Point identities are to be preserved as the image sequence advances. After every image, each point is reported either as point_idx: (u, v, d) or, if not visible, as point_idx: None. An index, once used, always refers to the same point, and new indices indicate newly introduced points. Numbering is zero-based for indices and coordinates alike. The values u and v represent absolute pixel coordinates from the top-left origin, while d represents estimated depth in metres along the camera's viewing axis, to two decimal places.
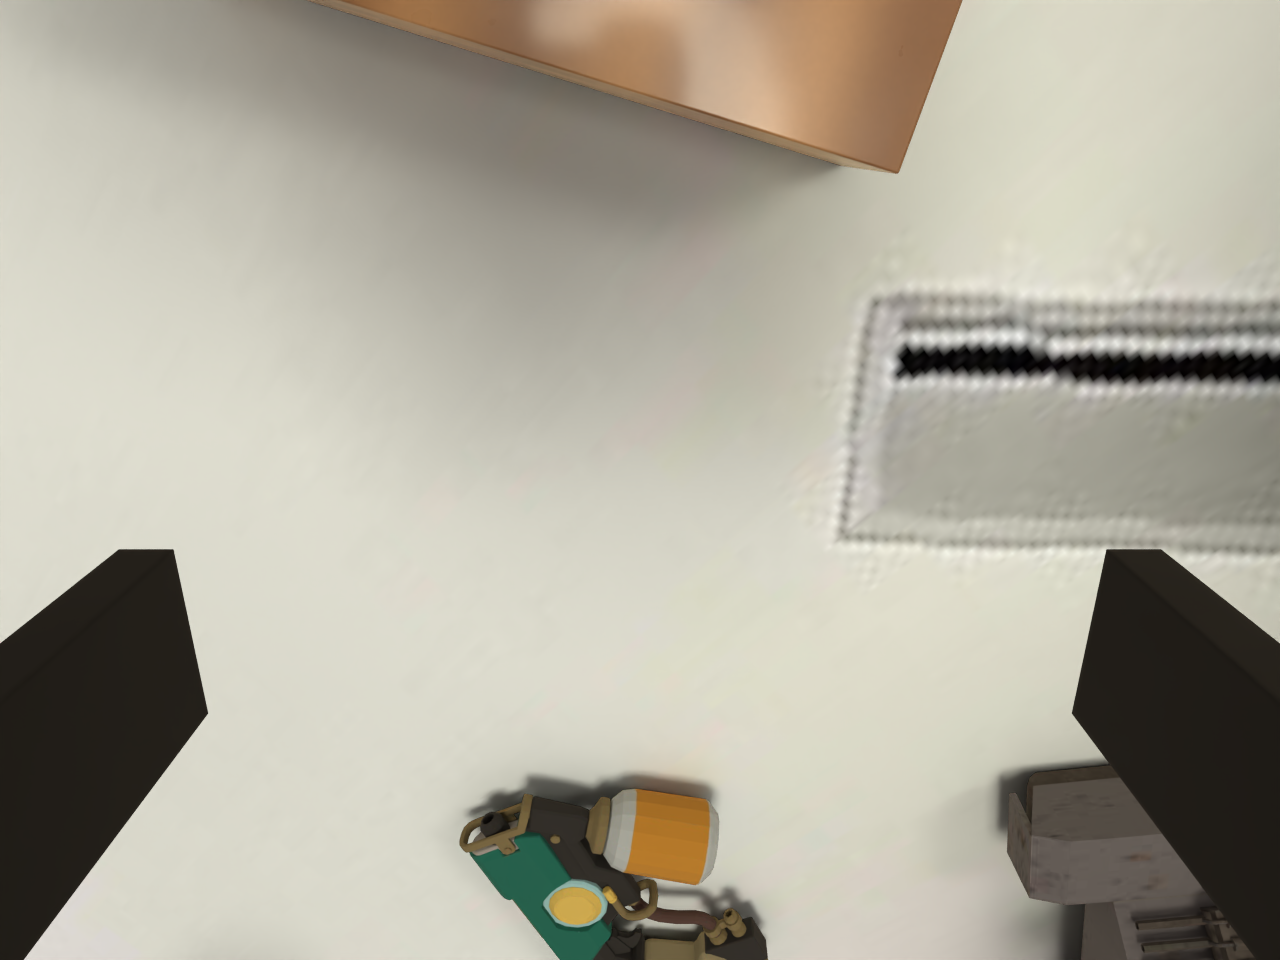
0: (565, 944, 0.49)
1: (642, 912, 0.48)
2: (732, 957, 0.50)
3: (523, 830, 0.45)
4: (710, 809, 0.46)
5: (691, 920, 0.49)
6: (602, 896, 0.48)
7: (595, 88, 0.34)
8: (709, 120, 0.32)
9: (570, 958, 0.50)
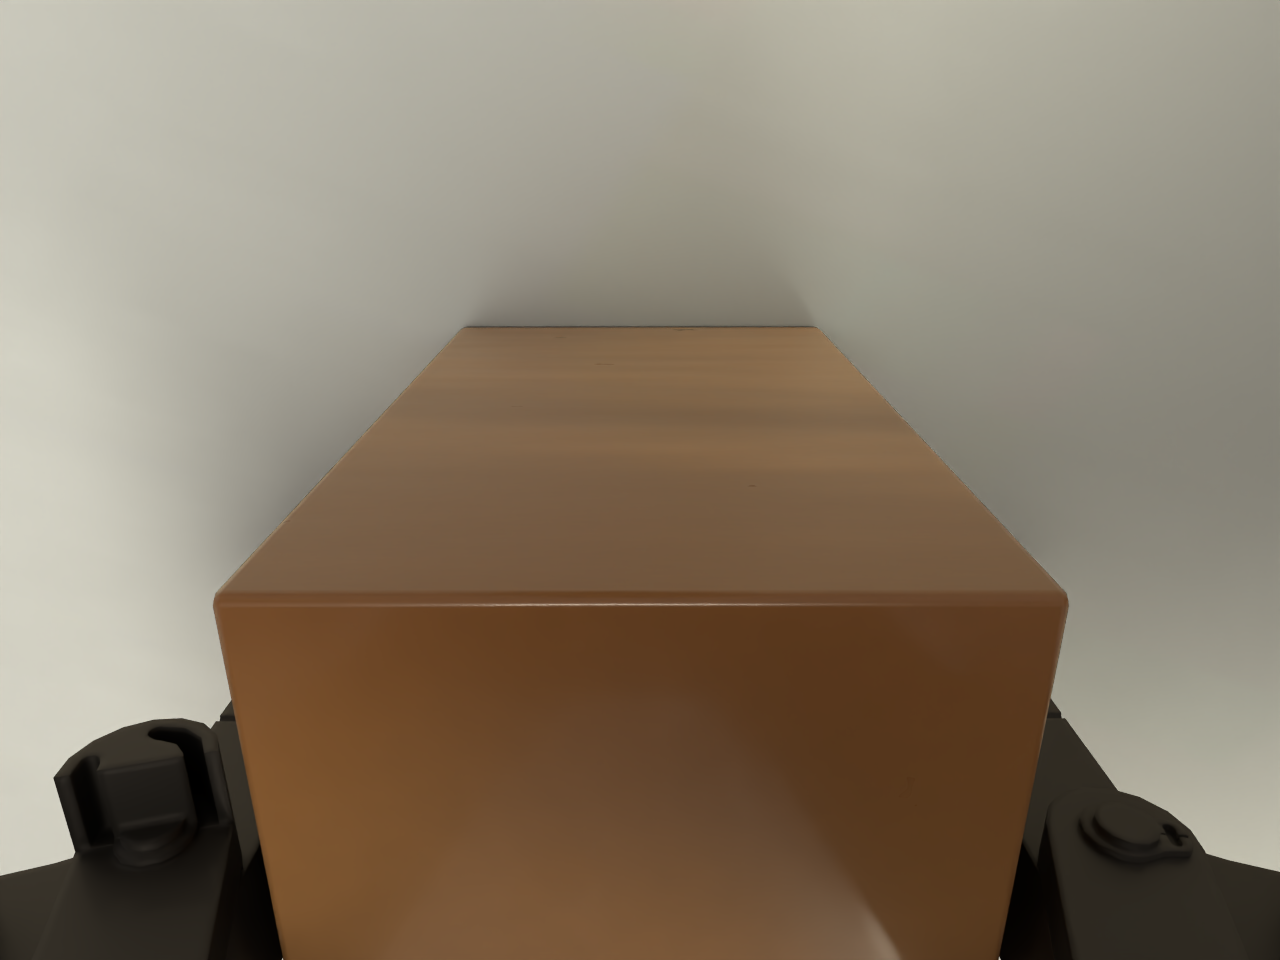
0: None
1: None
2: None
3: None
4: None
5: None
6: None
7: None
8: None
9: None
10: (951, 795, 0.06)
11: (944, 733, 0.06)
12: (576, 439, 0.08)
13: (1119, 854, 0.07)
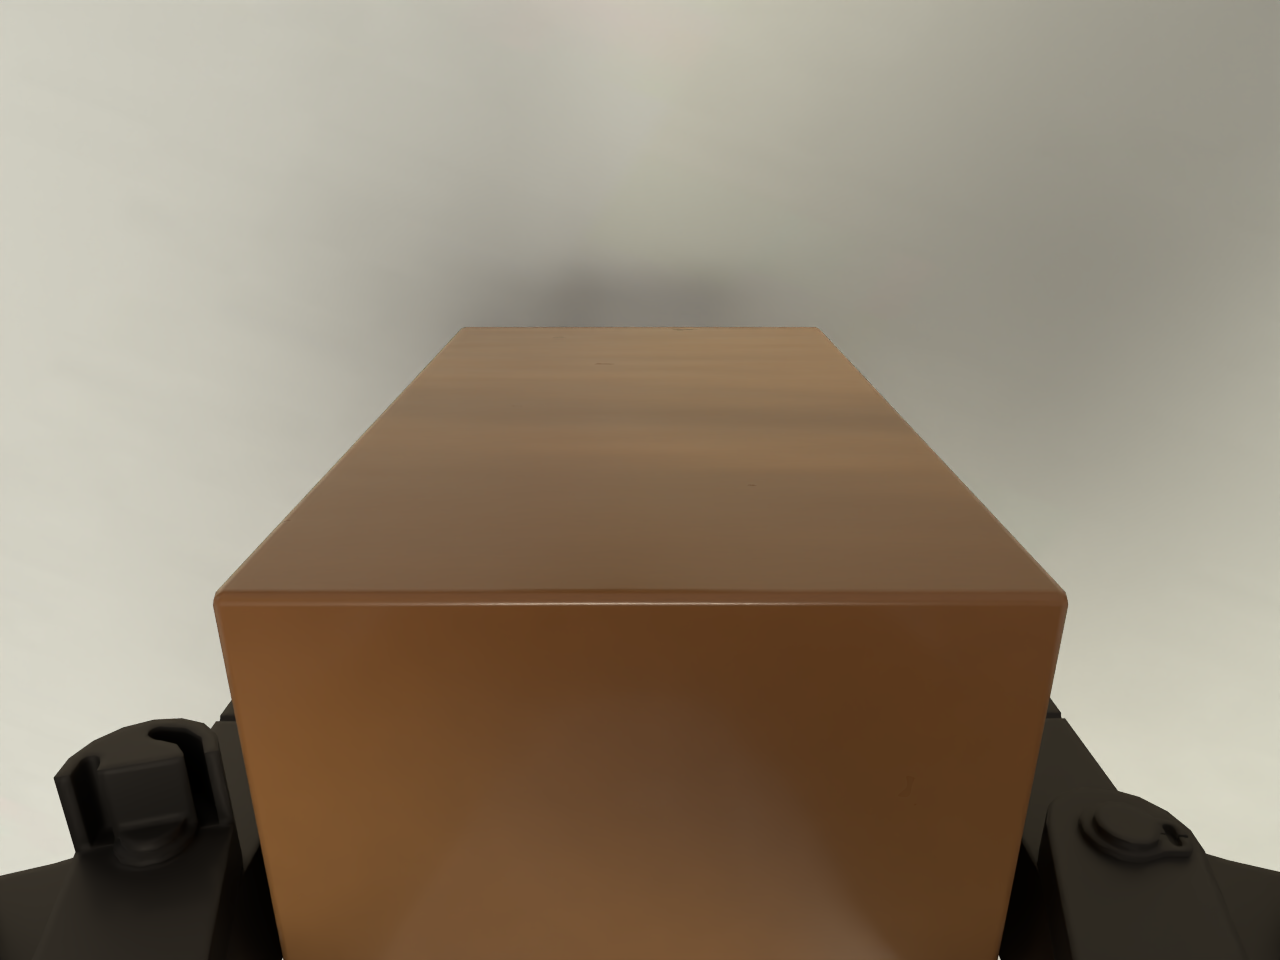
0: None
1: None
2: None
3: None
4: None
5: None
6: None
7: None
8: None
9: None
10: (950, 794, 0.06)
11: (944, 733, 0.06)
12: (575, 438, 0.08)
13: (1118, 855, 0.07)
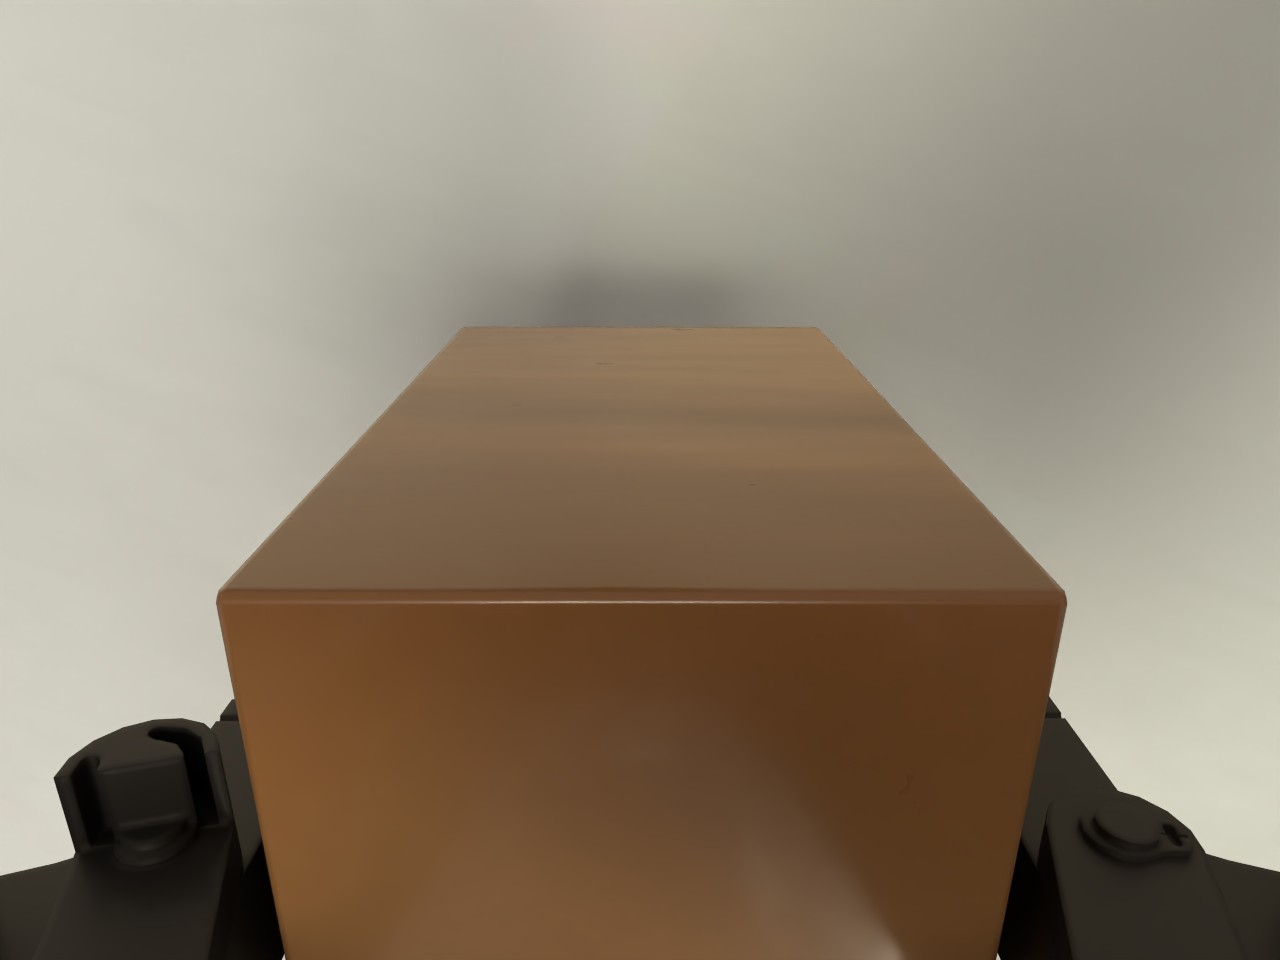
0: None
1: None
2: None
3: None
4: None
5: None
6: None
7: None
8: None
9: None
10: (950, 792, 0.06)
11: (944, 731, 0.06)
12: (576, 437, 0.09)
13: (1119, 855, 0.07)
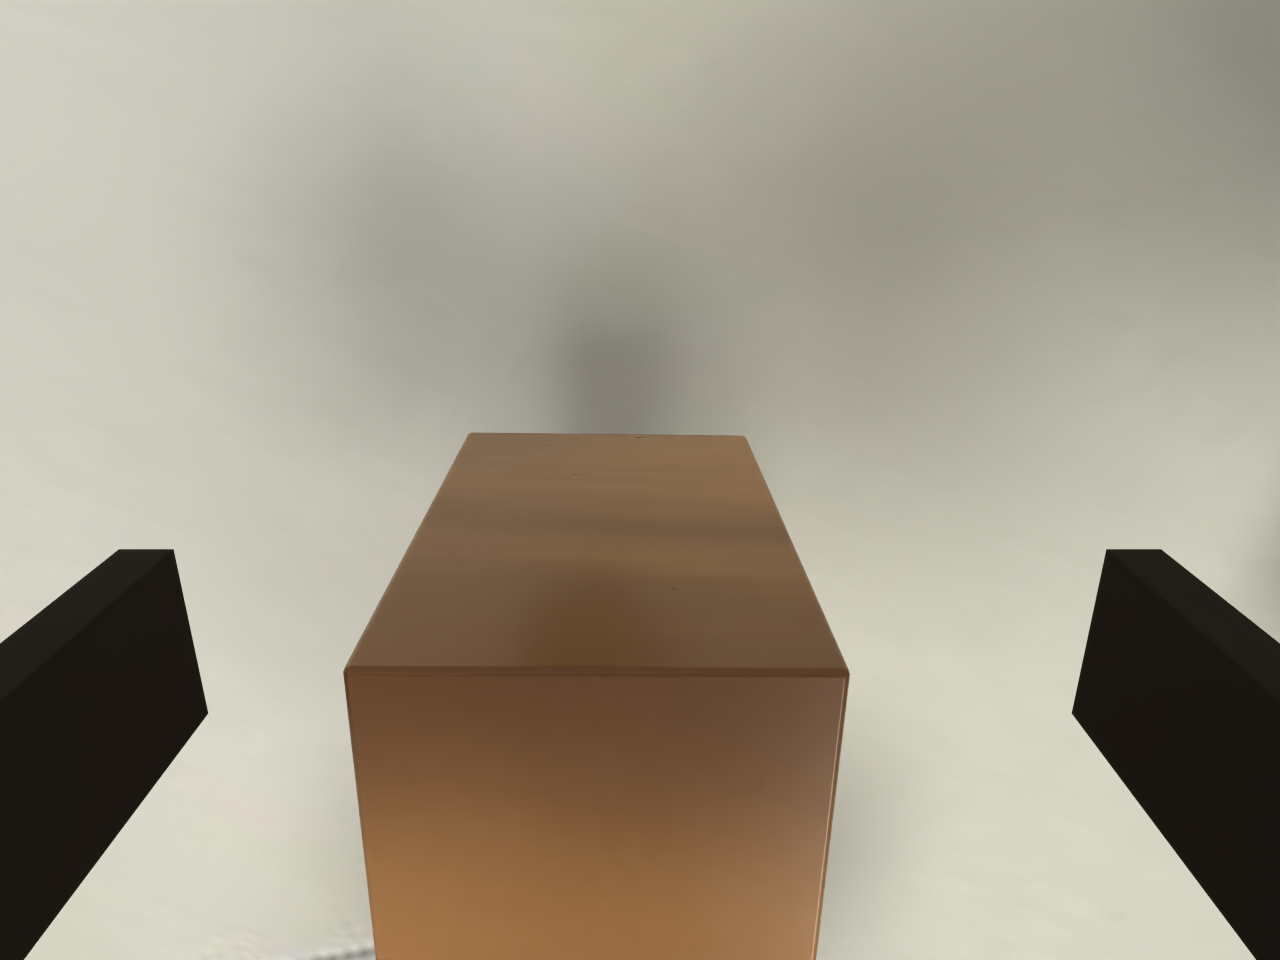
0: None
1: None
2: None
3: None
4: None
5: None
6: None
7: None
8: None
9: None
10: (787, 789, 0.10)
11: (780, 751, 0.10)
12: (558, 547, 0.12)
13: None
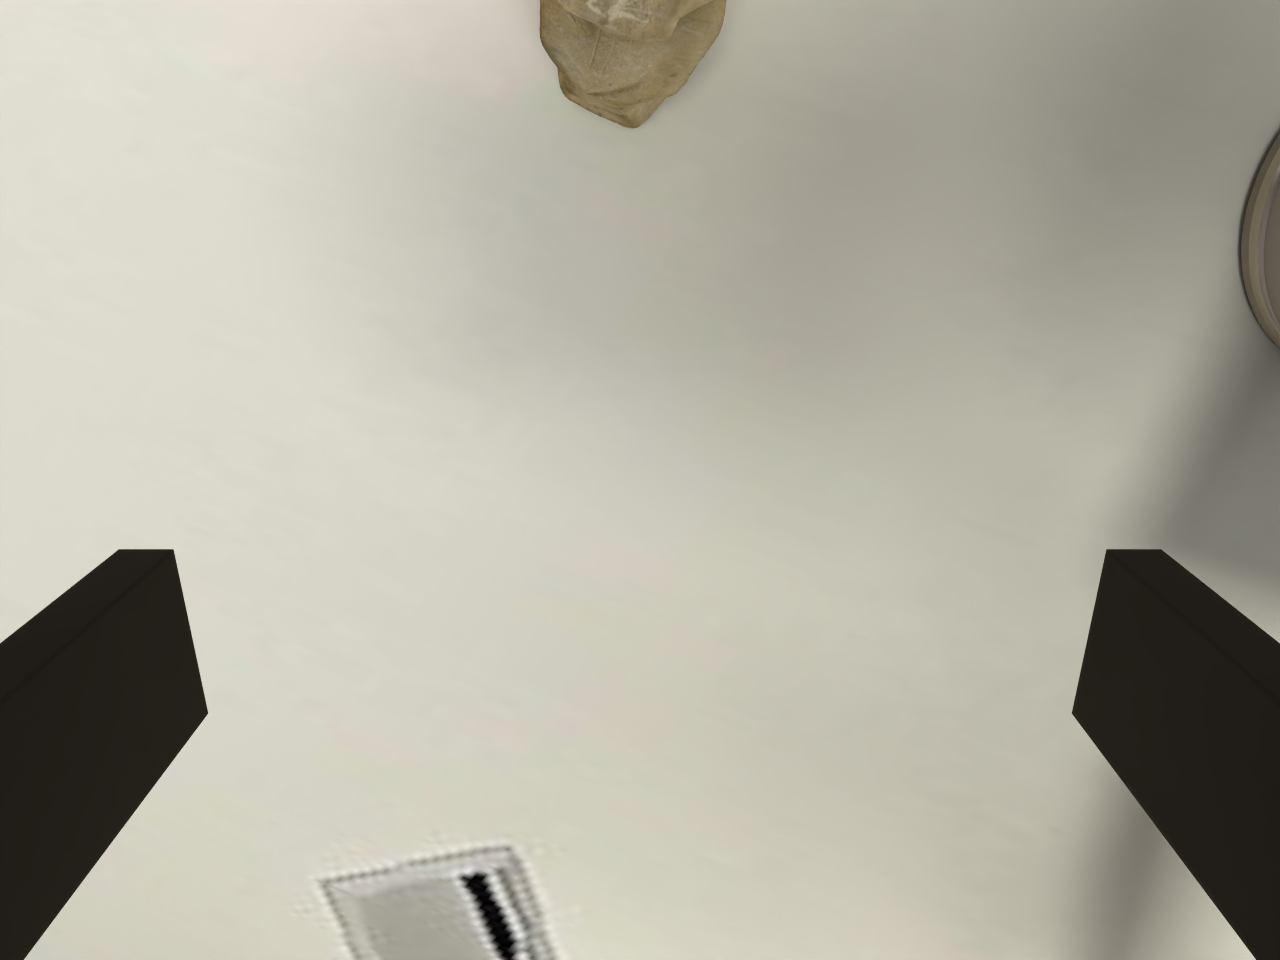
0: None
1: None
2: None
3: None
4: None
5: None
6: None
7: None
8: None
9: None
10: None
11: None
12: None
13: None
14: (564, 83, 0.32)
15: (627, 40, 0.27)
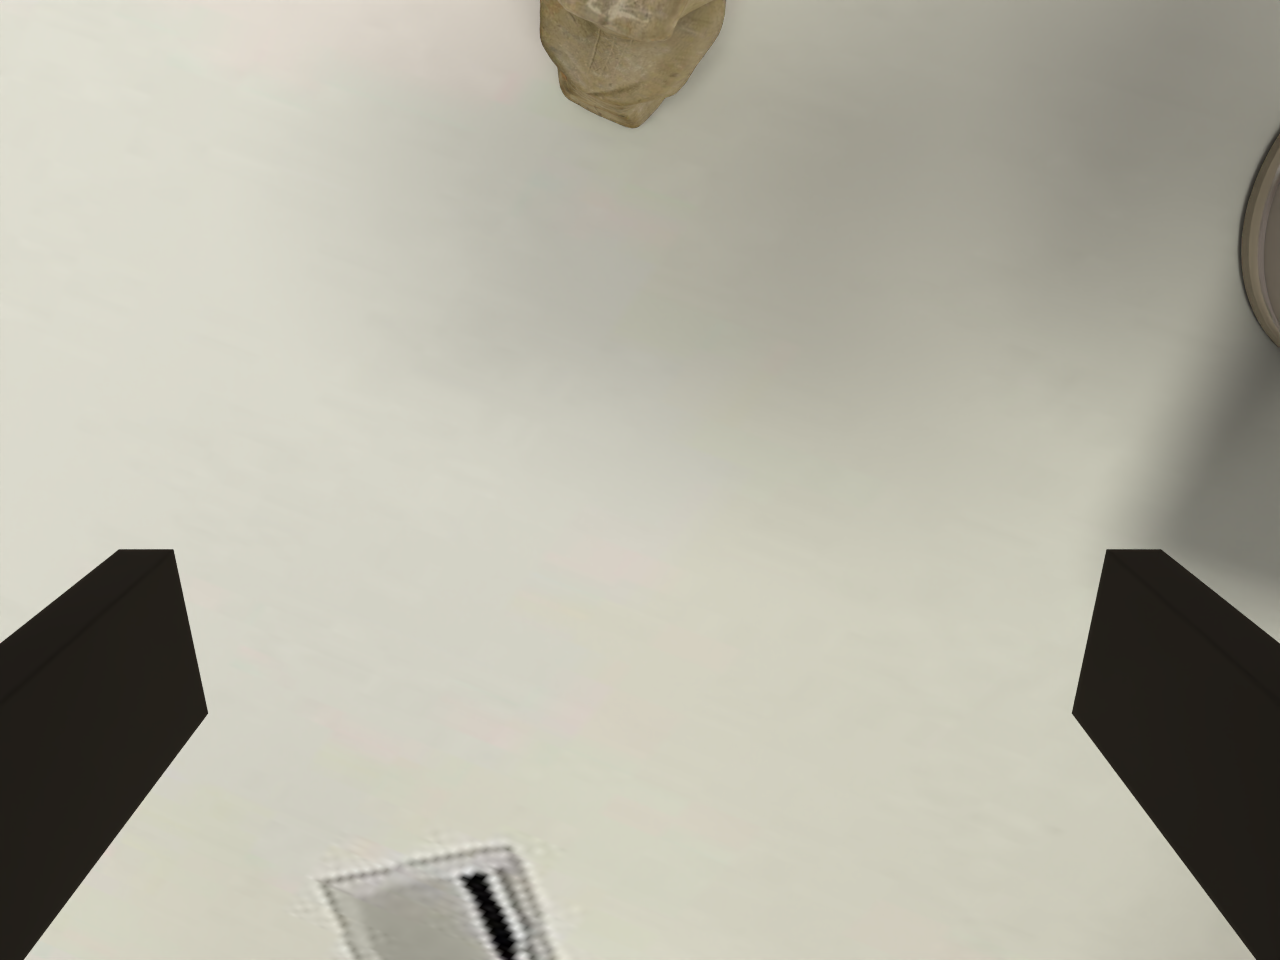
0: None
1: None
2: None
3: None
4: None
5: None
6: None
7: None
8: None
9: None
10: None
11: None
12: None
13: None
14: (564, 83, 0.32)
15: (627, 40, 0.27)
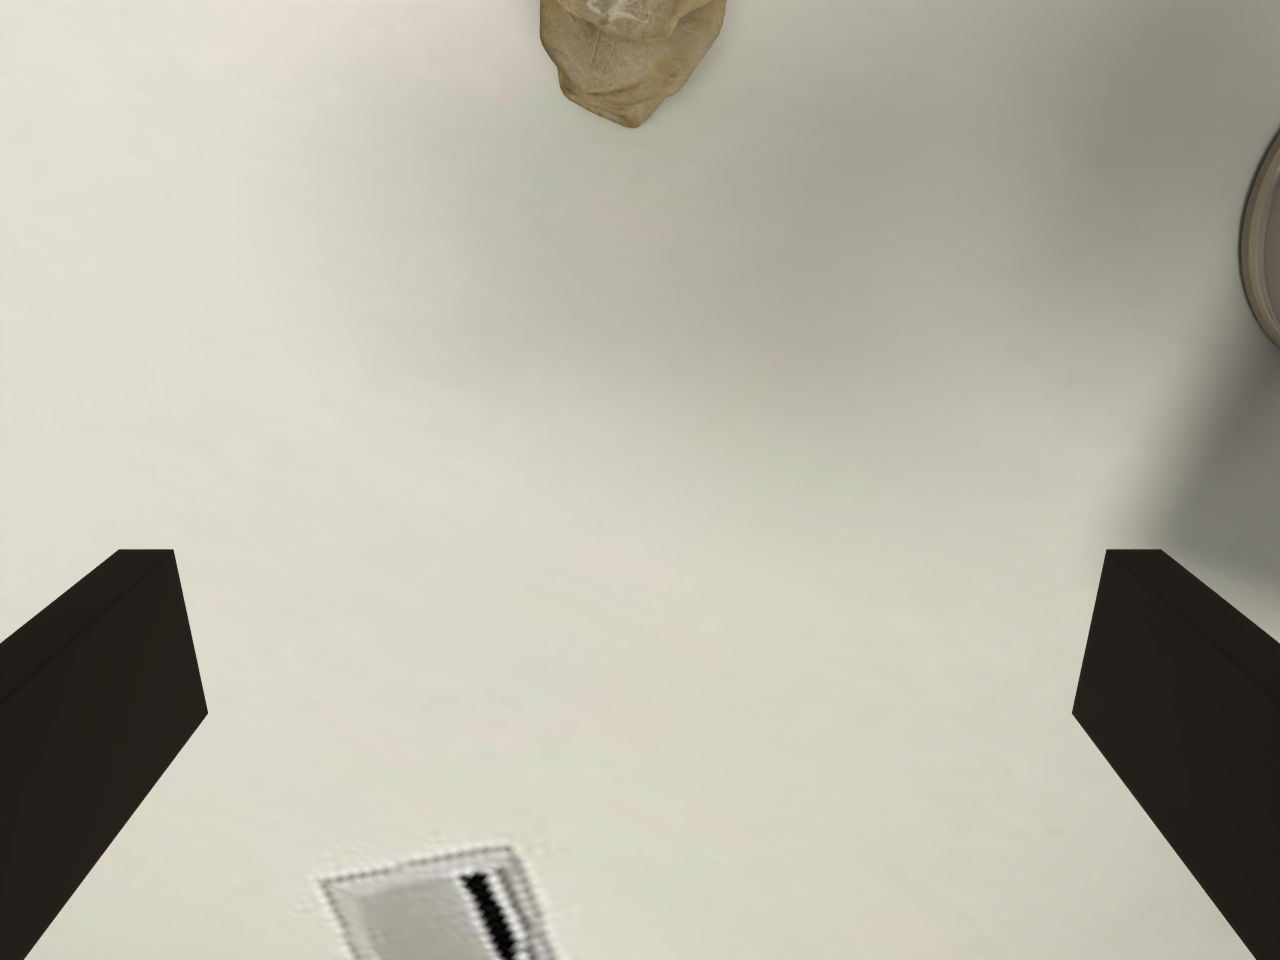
0: None
1: None
2: None
3: None
4: None
5: None
6: None
7: None
8: None
9: None
10: None
11: None
12: None
13: None
14: (564, 83, 0.32)
15: (627, 40, 0.27)
